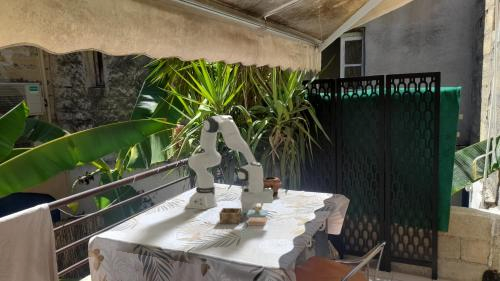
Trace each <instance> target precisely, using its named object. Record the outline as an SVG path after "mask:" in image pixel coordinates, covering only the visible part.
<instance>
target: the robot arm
mask: <svg viewBox="0 0 500 281" xmlns="http://www.w3.org/2000/svg"><path fill="white" fill-rule="evenodd" d="M218 133H221V135H222V137H223V142H224V143H225V146H226V147H227V148H228V149H230V150H232V151H237V152H240V153H241V154H242V155H243V156H244V158H245V159H246V162H247V163H248V164H246V165H244V166H240V167H238V168H237V171H236V176H237V179H238V180H239V181H240V182H244V183H245V182H246V183H247V182H248V185H244V186H243V187H242V189H241V192H242V193H241V192H240V203H241V204H242V203H251V206H252V208H253V210H255V207H254V206H253V203H257V204H260V206H259V210H263V205H264V204H273V202H274V196H273V190H272V189H271V188H264V187H263V179H264V171H263V170H264V169H263V165H262V163H261V162H258V160H257V158H256V156H255V154H254V152H253V150H252V148H251V147H250V145H249V143H248V142H247V141H245V140H244V139H243V137H242V135H241V133H240V130H239V128H238V126H237V125H236V123H235V121H234V118H233V117H232V116H231V115H230V114H224V115H223V114H221V115H220V114H218V115H214V116H209V117H206V118H204V120H203V121H202V128H201V132H200V138H199V139H200V140H199V146H200V147H201V149H203V150H204V152H200V153H195V154H192V155H191V156H189V158H188V160H187V161H188V162H187V163H188V166H189V168H190V169H191V170H193V171H194V172H195V173H196V175H197V179H198V185H197V186H196V187H195V193H193V194H192V195H191V196H190V198H189V201H188V202H187V203H186V206H185V207H186V209H197V210H207V209H211V208H214V207H216V206H218V202H217V198H216V188H215V186H216V185H215V179H214V175H213V173H212V172H208V168H212V167H216V166H219V165H220V164H221V162H222V155H221V154H220V152H219V151H217V148H216V147H217V146H216V145H217V144H216V143H217V139H218V138H217V137H218Z"/></svg>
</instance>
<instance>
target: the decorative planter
mask: <svg viewBox="0 0 500 281" xmlns="http://www.w3.org/2000/svg"><path fill="white" fill-rule="evenodd" d="M282 186H283V183H282V182H281V180H280V178H278V177H275V176H274V177H272V176H269V177H268V176H267V177H263V187H264V188H271V189H272V190H273V197H276V196H278V195H279V189H280V188H281V187H282Z"/></svg>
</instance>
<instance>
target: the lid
mask: <svg viewBox="0 0 500 281" xmlns="http://www.w3.org/2000/svg"><path fill="white" fill-rule="evenodd" d="M259 207H260V205H257V206H255V210H249V211H248V213H246V217H247V218H248V219H250V218H267V215H268V209H262V210H259Z"/></svg>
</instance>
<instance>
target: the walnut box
mask: <svg viewBox="0 0 500 281" xmlns="http://www.w3.org/2000/svg"><path fill="white" fill-rule="evenodd" d="M218 214H219V224H220V225H240V223H241V220H242V219H243V217H242V215H243V213H242V207H241V208H240V207H237V208H236V207H223V208H222V209H221V210H220V211H219V213H218Z"/></svg>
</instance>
